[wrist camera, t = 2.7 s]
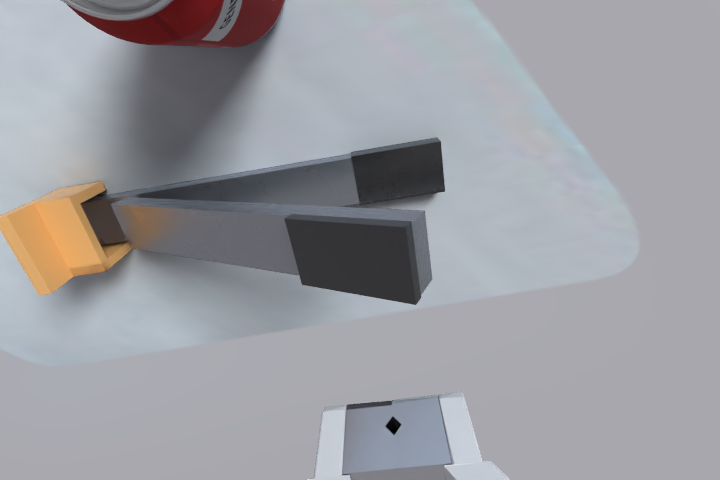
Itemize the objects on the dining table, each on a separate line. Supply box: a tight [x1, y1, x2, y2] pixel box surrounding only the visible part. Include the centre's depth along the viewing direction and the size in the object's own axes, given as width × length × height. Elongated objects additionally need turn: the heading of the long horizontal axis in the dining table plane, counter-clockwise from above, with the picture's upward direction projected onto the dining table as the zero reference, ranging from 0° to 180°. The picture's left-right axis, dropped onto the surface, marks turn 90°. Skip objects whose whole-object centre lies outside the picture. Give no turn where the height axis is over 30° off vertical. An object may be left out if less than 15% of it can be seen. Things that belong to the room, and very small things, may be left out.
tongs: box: [80, 138, 445, 245], centre depth 27 cm, size 28×3×1 cm, turn 100°
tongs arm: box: [111, 197, 432, 305], centre depth 20 cm, size 20×3×2 cm
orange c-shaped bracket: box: [0, 181, 133, 295], centre depth 25 cm, size 3×5×5 cm, turn 10°
